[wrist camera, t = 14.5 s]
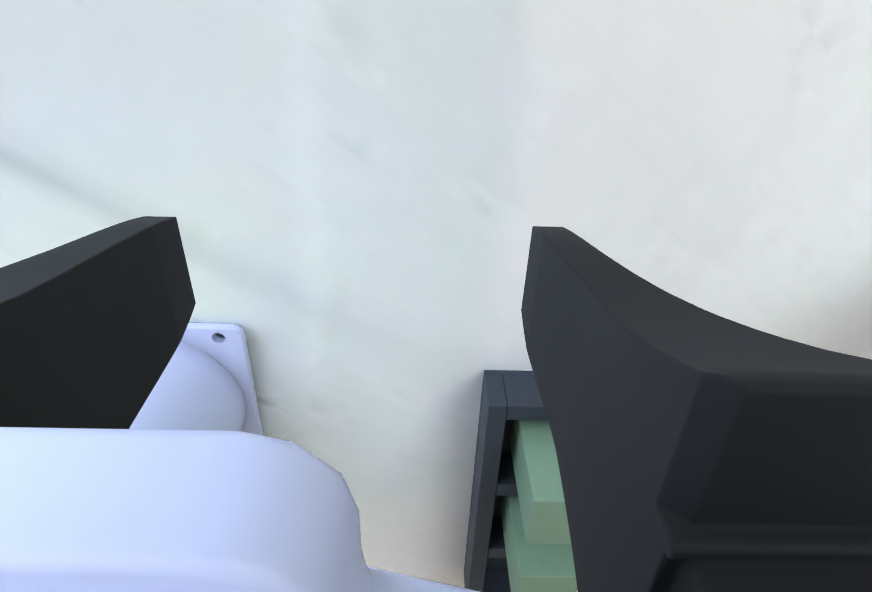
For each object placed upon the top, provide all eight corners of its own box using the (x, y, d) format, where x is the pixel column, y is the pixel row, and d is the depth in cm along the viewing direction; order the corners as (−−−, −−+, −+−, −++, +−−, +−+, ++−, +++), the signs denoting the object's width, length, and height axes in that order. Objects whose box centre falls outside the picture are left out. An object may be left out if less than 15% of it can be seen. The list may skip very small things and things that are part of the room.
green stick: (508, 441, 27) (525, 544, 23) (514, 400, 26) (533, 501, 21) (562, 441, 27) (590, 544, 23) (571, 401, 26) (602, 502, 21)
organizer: (463, 571, 33) (466, 610, 31) (484, 369, 25) (488, 405, 23) (558, 572, 34) (566, 611, 32) (608, 372, 25) (623, 408, 24)
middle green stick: (499, 506, 30) (513, 611, 25) (504, 472, 28) (519, 576, 24) (549, 507, 30) (571, 611, 25) (556, 473, 29) (581, 577, 24)
